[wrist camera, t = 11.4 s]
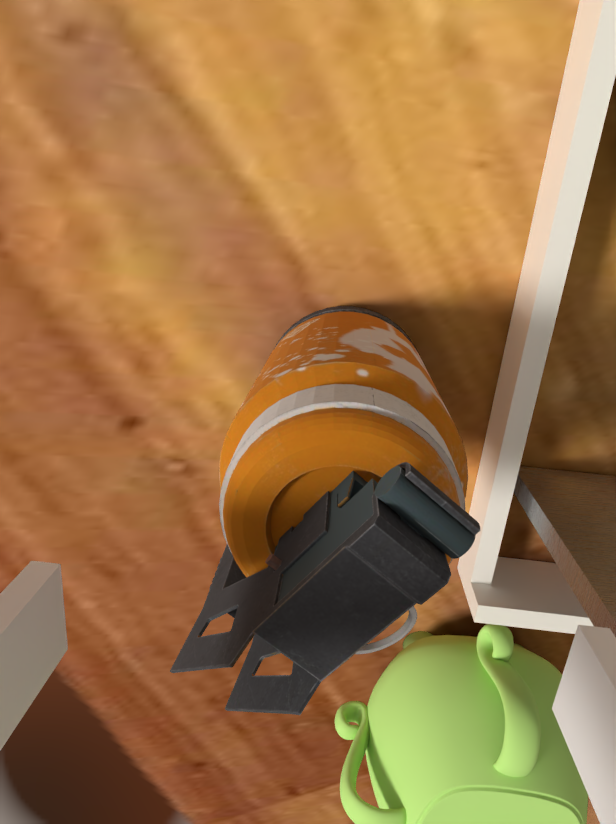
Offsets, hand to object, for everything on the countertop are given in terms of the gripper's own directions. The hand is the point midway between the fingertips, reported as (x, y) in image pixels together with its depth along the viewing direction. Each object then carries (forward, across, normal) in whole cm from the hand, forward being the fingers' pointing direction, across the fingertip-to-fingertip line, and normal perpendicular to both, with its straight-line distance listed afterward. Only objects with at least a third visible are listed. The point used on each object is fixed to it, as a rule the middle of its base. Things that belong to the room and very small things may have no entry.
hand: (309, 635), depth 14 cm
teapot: (+20, +11, -22) cm, 31 cm away
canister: (+19, 0, 0) cm, 19 cm away
